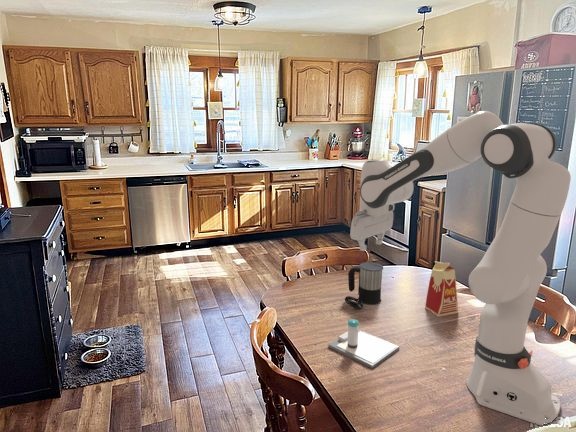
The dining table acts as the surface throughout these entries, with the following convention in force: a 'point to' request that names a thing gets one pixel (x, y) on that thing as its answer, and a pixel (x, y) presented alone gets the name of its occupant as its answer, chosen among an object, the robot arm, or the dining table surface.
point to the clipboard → (365, 348)
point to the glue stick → (353, 333)
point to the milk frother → (365, 284)
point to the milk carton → (442, 290)
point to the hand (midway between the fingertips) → (371, 247)
